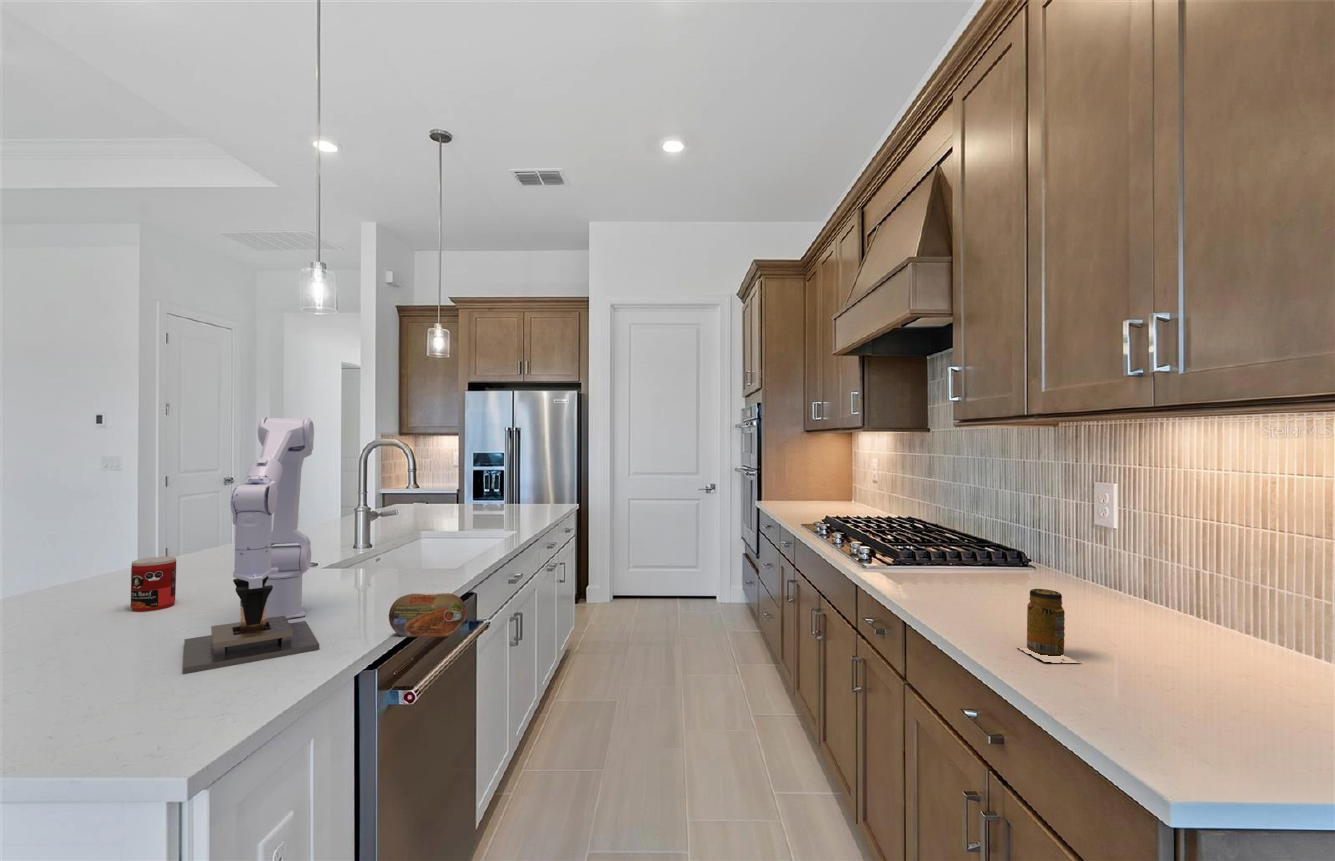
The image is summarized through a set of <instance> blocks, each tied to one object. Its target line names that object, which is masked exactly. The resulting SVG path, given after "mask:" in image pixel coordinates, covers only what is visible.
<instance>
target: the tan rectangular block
mask: <svg viewBox="0 0 1335 861" xmlns="http://www.w3.org/2000/svg"><path fill="white" fill-rule="evenodd" d="M266 603H267V600H266ZM266 603H265V607H264V611H263V616H262V620H261V623H260V624H256V625H249V626H247V625H246V622H245V617H244V611H243V605H242V602H241V600H240V601H239V606H240V622H241V630H240V634H246V633H252V632H258V631H265V630H266Z"/></svg>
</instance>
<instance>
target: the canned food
mask: <svg viewBox="0 0 1335 861" xmlns="http://www.w3.org/2000/svg"><path fill="white" fill-rule="evenodd" d="M130 568H131V570H130V571H131V573H130V608H131V611H132V612H138V613H139V612H142V613H143V612H152V611H154V612H155V611H158V610H163V609H167V608H171V607H173V606H174V605H175V602H176V595H177V594H176V591H177V590H176V586H177V557H175V556H153V557H147V558H139V559H136V560H133V561H132V562H131V567H130Z"/></svg>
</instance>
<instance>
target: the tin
mask: <svg viewBox="0 0 1335 861" xmlns="http://www.w3.org/2000/svg"><path fill="white" fill-rule="evenodd" d="M466 617H467V607H466V604H465V602H464V600H462V598H461V597H460V596H458V595H456V594H454V593H450V592H449V593H446V592H445V593H444V592H443V593H442V592H441V593H439V592H438V593H409V594H406V595H403V596H400V597H398V598H397V599H396V600H395V601H394V602H393V603H392V604H391V606H390V609H389V612H388V620H389V625H390V627H391V629H392V630H393V632H395V633H396V634H398V635H399V636H401V637H403V638H419V637H420V638H434V637H435V638H444V637H450V636H452V635H454V634H455V633H457V631H459V629H461V627H463V625H464V623H465V622H466V619H467V618H466Z"/></svg>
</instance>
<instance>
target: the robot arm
mask: <svg viewBox="0 0 1335 861" xmlns="http://www.w3.org/2000/svg"><path fill="white" fill-rule="evenodd" d="M258 422H259V423H258V428H257V438H258V441H259V443H260V444H261V447H262V449H261V452H260V456H259V457H258V458H256V459H254V460H253V461H252V462H251V463H250V465H249V468H248V469H247V472H246V475H245V477H244V479H243V481H242V484H240V485H238V486H236V487H233V490H232V492H231V493H230V500H229V501H230V502H229V503H230V504H229V505H230V511H231V516H232V524H233V525H235V527H234V529H235V530H234V532H235V533H234V569H233V573H232V577H233V578H234V579H232V581H233V584H234V585H235V593H236V594H237V596H238V598H239V600H240V601H241V602H242V605H243V611H244V617H245V622H246V625H247V626H249V625H256V624H260V623H261V620H262V616H263V611H264V607H265V603H266V600H267V603H266V618H271V617H278V616H286V618H287V620H288V619H294V618H301V617H302V618H303V617H305V616H306V615H307V614H306V612H305V610H304V609H303V607H302V603H303V601H302V600H303V599H302V598H303V574H305V573H306V572H307V571H308V570H309V569H310V567H311V564H312V550H311V543H312V542H311V540H310V538H309V536H307V535H305V534H304V533H302V532H301V531H300V530H298V524H299V523H298V522H299V510H300V509H299V507H300V496H301V495H300V494H301V481H302V468H303V463H304V461H305V460H304V459H305V458H308V457H310V456H311V455H312V454H313V450H314V440H315V439H314V438H315V428H314V427H315V426H314V423H313V420H312V419H311V418H309V417H306V418H292V417H291V418H290V417H284V418H283V417H282V418H281V417H267V416H264V417H262V418H261V420H259V421H258ZM272 521H273V522H272ZM272 523H273V524H272ZM287 544H289V545H287ZM291 544H293V545H291ZM295 544H296V545H295Z"/></svg>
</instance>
